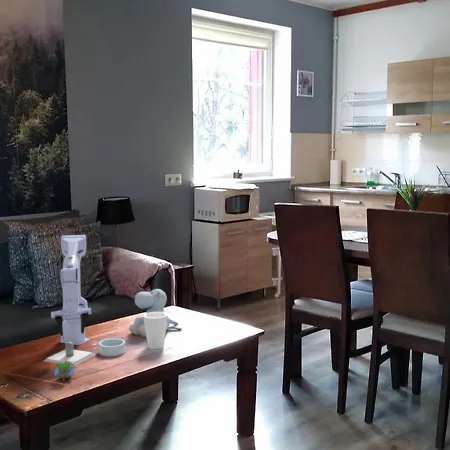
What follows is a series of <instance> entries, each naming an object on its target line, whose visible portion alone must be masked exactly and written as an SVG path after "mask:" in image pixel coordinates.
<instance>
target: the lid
mask: <svg viewBox="0 0 450 450" xmlns="http://www.w3.org/2000/svg"><path fill="white" fill-rule="evenodd" d="M64 344H65V347H64V348H65V349H63V350H60V351H59V352H57V353H54V354H53V355H50V356H48V357H46V359H47V361H53V362H59V363H64V364H65V360H67V361H69V362H72V363H73V365H74V364H76V363H77V362H79V361H81V360H83V359H85V358H87V357H89V356H91V355H92V354H93V352H90V351H84V350H80V349H79V350H78V349H74V344H73V342H72V341H69V342H66V343H64Z"/></svg>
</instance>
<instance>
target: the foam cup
mask: <svg viewBox="0 0 450 450" xmlns="http://www.w3.org/2000/svg"><path fill="white" fill-rule="evenodd" d="M167 316H168V314H167V312H165V311H164V312H149V313H146V312H145V313H144V314H143V315H142V317H143V320H144V324H145V330H146V337H147V338H146V342H147V347H148V349H151V350H158V349H163V348H164V347H165V339H166V333H165V332H167V330H166V323H167Z"/></svg>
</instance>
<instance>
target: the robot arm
mask: <svg viewBox="0 0 450 450" xmlns="http://www.w3.org/2000/svg"><path fill="white" fill-rule="evenodd" d="M60 248H61V253H62V255H63V257H64V258H63V262H62V268H61V269H60V282H61V289H62V309H59V310H55V311H51V312H50V317H51V319H54V320H55V322H56V324H57V326H58V330H59V334H60V341H59V343H62V344H63V343H64V344H65V343H66V342H69V341H72V342H73V345H76V346H80V345H82V344H84V343H86V342H88V341H90V340H91V339H90V338H89V337H88V338H86V324H87V322H88V320H89V317H90V315H92V308H91V307H88V300H86V299H85V298H84V297H82V296H81V261H82V257H84V256H86V253H87V236H86V235H85V234H76V235H75V234H73V235H72V234H71V235H69V234H68V235H63V234H62V236H60Z"/></svg>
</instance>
